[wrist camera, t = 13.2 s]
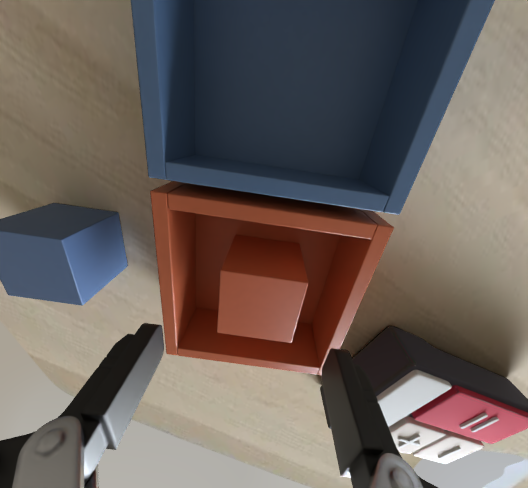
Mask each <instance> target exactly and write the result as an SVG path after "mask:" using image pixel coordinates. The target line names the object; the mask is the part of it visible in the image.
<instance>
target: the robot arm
mask: <svg viewBox="0 0 528 488" xmlns="http://www.w3.org/2000/svg"><path fill="white" fill-rule="evenodd" d="M163 351H164V342H163V331H162V326H161V325H156V324H148V323H144V324H142V325H141V326H140V328H139V329H138V331H137V332H136V334H135V335H133V334H127V335H126V336H125V337H123V338H122V339H121V340H120V341H118V342H117V343H116V344H115V345H114V346H113V348H112V349H111V350H110V352H109V353H108V354H107V357H106V358H104V360H103V361H102V362H101V364H100V365H99V367H98V368H97V369H96V370H95V372H94V373H93V374H92V376H91V377H90V378H89V379H88V381H87V382H86V383H85V385H84V386H83V387H82V389H81V390H80V391H79V393H78V394H77V395H76V397H75V398H74V399H73V401H72V402H71V403H70V405H69V406H68V407H67V408H66V410H65V411H64V412H63V413H62V414H61V415H60V416H59V417H58V418H56V419H54V420H52V421H50V422H48V423H46V424H45V425H43V426H42V427H41V428H39V429H38V430H37V431H36V432H33V433H30V434H27V435H23V436H18V437H14V438H11V439H6V440H2V441H0V488H99V477H98V462H99V460H100V458H101V457H102V455H103V453H104V451H105V449H114V450H116V448H117V446H118V444H119V442H120V440H121V438H122V436H123V434H124V432H125V430H126V428H127V426H128V424H129V422H130V420H131V418H132V416H133V414H134V412H135V410H136V408H137V406H138V404H139V402H140V400H141V398H142V396H143V394H144V392H145V390H146V388H147V386H148V384H149V382H150V380H151V378H152V376H153V374H154V372H155V370H156V368H157V366H158V364H159V362H160V360H161V358H162V355H163ZM321 377H322V385H323V390H324V395H325V400H326V405H327V410H328V415H329V420H330V425H331V430H332V435H333V440H334V445H335V450H336V455H337V460H338V465H339V470H340V475H341V476H343V477H351V481H352V485H353V488H438V487H436V486H434V485H432V484H430V483H428V482H426V481H425V480H423V479H421V478H420V477H419V476H418V475H417V474H416V473H415V471H414V470H413V469H412V467H411V466H410V465H409V464H408V463H407V462H406V461H405V460H403V459H402V457H401V455H400V454H399V452H398V450H397V447H396V445H395V443H394V440H393V438H392V435H391V432H390V430H389V427H388V425H387V422H386V420H385V417H384V415H383V412H382V410H381V407H380V405H379V403H378V400H377V397H376V395H375V392H373V387H372V385H371V382H370V380H369V377H368V375H367V374H366V373H365V371H364V370H363V369H362V367H361V366H360V365H359V364H353V361H352V358H351V355H350V353H349V351H347V350H341V349H334V348H331V349H330V351H329V353H328V355H327V358H326V360H325V363H324V365H323V367H322V374H321Z"/></svg>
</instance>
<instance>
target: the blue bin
mask: <svg viewBox="0 0 528 488" xmlns="http://www.w3.org/2000/svg"><path fill="white" fill-rule="evenodd" d="M494 1H495V0H131V7H132V17H133V27H134V37H135V47H136V57H137V67H138V77H139V87H140V97H141V107H142V116H143V126H144V136H145V146H146V156H147V166H148V176H149V177H151V178H157V179H164V180H166V179H167V180H171V181H178V182H184V183H191V184H197V185H204V186H211V187H217V188H224V189H231V190H237V191H244V192H251V193H257V194H264V195H270V196H277V197H284V198H290V199H297V200H304V201H310V202H317V203H324V204H330V205H337V206H343V207H350V208H357V209H363V210H370V211H377V212H384V213H390V214H397V215H398V214H400V212H401V210H402V208H403V206H404V203H405V201H406V199H407V197H408V194H409V192H410V190H411V188H412V185H413V183H414V181H415V179H416V176H417V174H418V172H419V170H420V167H421V165H422V163H423V161H424V158H425V156H426V154H427V152H428V149H429V147H430V145H431V143H432V140H433V138H434V136H435V134H436V131H437V129H438V127H439V125H440V122H441V120H442V118H443V116H444V113H445V111H446V109H447V107H448V104H449V102H450V100H451V98H452V95H453V93H454V91H455V89H456V86H457V84H458V82H459V80H460V77H461V75H462V73H463V71H464V68H465V66H466V64H467V62H468V59H469V57H470V55H471V53H472V50H473V48H474V46H475V44H476V41H477V39H478V37H479V35H480V32H481V30H482V28H483V26H484V23H485V21H486V19H487V17H488V14H489V12H490V10H491V8H492V5H493V3H494Z"/></svg>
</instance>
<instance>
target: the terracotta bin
mask: <svg viewBox="0 0 528 488" xmlns="http://www.w3.org/2000/svg"><path fill="white" fill-rule="evenodd" d="M150 194H151V204H152V214H153V224H154V234H155V244H156V254H157V264H158V274H159V284H160V294H161V304H162V313H163V323H164V333H165V343H166V353H167V354H171V355H178V356H185V357H193V358H200V359H207V360H214V361H222V362H229V363H236V364H244V365H251V366H258V367H266V368H273V369H280V370H287V371H295V372H302V373H309V374H318V375H321V374H322V367H323V365H324V363H325V360H326V358H327V355H328V353H329V351H330V349H331V348H334V349H340V348H341V345H342V343H343V341H344V339H345V336H346V334H347V332H348V330H349V327H350V325H351V323H352V321H353V318H354V316H355V314H356V312H357V309H358V307H359V305H360V303H361V300H362V298H363V296H364V294H365V292H366V289H367V287H368V285H369V283H370V280H371V278H372V276H373V274H374V271H375V269H376V267H377V265H378V262H379V260H380V258H381V256H382V253H383V251H384V249H385V247H386V244H387V242H388V240H389V238H390V235H391V233H392V231H393V229H394V227H393V226H391V225H390V224H389V223H387V222H386V221H385V220H384V219H382V218H381V217H380V216H378V215H377V214H376V213H375V212H373V211H370V210H363V209H357V208H350V207H343V206H337V205H330V204H324V203H317V202H310V201H304V200H297V199H290V198H284V197H277V196H270V195H264V194H257V193H251V192H244V191H237V190H231V189H224V188H217V187H211V186H204V185H197V184H191V183H184V182H178V181H172V182H170V183H168V184H165V185H163V186H161V187H158V188H156V189H154V190H152V191H150ZM236 234H237V235H244V236H250V237H257V238H264V239H271V240H278V241H285V242H292V243H298V244H300V247H301V252H302V257H303V261H304V266H305V270H306V275H307V279H308V286H307V290H306V293H305V297H304V300H303V304H302V307H301V311H300V314H299V318H298V321H297V325H296V328H295V332H294V335H293V339H292V342H291V343H289V342H282V341H275V340H267V339H260V338H253V337H246V336H239V335H231V334H224V333H218V332H217V325H218V306H219V288H220V270H221V268H222V266H223V263H224V261H225V258H226V256H227V254H228V251H229V249H230V246H231V244H232V242H233V239H234V237H235V235H236Z"/></svg>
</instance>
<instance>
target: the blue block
mask: <svg viewBox="0 0 528 488" xmlns="http://www.w3.org/2000/svg"><path fill="white" fill-rule="evenodd" d="M127 266H128V264H127V259H126V253H125V247H124V242H123V236H122V230H121V224H120V219H119V213H118V212H112V211H105V210H99V209H92V208H85V207H78V206H71V205H65V204H58V203H52V204H49V205H46V206H42V207H39V208H36V209H32V210H29V211H26V212H22V213H19V214H16V215H12V216H9V217H6V218H2V219H0V280H1V282H2V284H3V286H4V288H5V290H6V292H7V294H8V295H11V296H18V297H25V298H33V299H40V300H47V301H54V302H61V303H68V304H76V305H84V304H85V303H86V302H87V301H88V300H89V299H90V298H92V297H93V296H94V295H95V294H96V293H97V292H98V291H100V290H101V289H102V288H103V287H104V286H105V285H106V284H108V283H109V282H110V281H111V280H112V279H113V278H115V277H116V276H117V275H118V274H119V273H120V272H121V271H123V270H124V269H125V268H126V267H127Z"/></svg>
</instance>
